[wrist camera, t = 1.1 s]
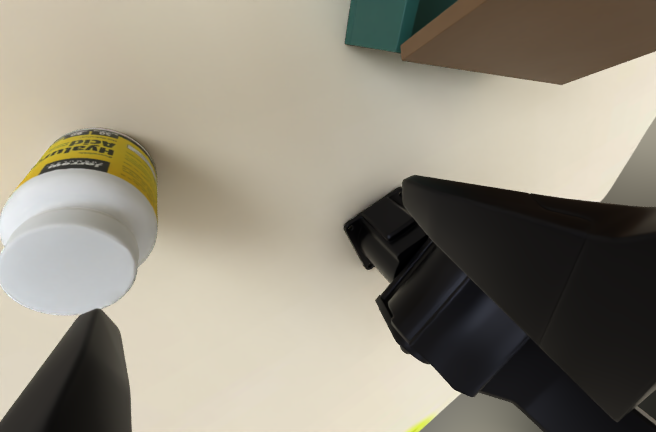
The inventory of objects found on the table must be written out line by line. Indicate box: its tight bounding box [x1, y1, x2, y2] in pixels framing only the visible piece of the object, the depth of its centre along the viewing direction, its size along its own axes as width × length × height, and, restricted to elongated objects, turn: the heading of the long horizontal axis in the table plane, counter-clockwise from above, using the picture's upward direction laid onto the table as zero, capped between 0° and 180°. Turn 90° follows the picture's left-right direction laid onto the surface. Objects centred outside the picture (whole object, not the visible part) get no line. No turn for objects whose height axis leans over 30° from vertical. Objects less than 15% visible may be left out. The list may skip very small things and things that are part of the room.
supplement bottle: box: [0, 128, 158, 315], centre depth 15 cm, size 5×5×10 cm
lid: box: [400, 0, 656, 85], centre depth 14 cm, size 12×14×1 cm
